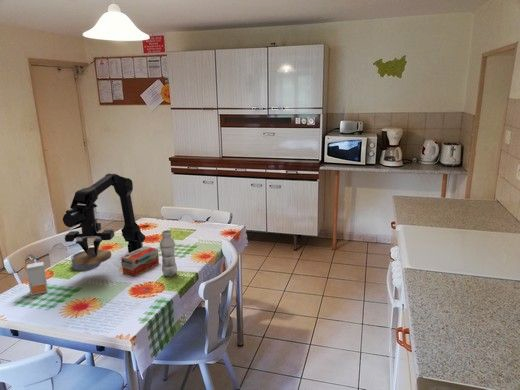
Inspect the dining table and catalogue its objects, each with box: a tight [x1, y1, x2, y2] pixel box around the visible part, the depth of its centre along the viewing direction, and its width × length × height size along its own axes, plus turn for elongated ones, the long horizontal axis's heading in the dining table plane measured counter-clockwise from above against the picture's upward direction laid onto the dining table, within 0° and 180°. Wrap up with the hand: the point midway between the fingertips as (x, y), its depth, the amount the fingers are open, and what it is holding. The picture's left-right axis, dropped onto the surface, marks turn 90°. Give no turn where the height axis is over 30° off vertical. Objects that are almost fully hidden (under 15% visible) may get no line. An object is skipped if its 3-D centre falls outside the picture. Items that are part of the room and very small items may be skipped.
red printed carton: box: [120, 245, 160, 277], centre depth 175 cm, size 15×8×8 cm, turn 151°
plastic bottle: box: [159, 230, 178, 277], centre depth 167 cm, size 6×7×20 cm
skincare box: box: [26, 261, 48, 296], centre depth 154 cm, size 6×4×12 cm
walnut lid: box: [73, 246, 112, 265], centre depth 164 cm, size 15×15×4 cm
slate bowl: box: [70, 250, 102, 272], centre depth 180 cm, size 12×12×5 cm
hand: (92, 254), depth 164 cm, fingers closed on walnut lid, 3 cm apart
